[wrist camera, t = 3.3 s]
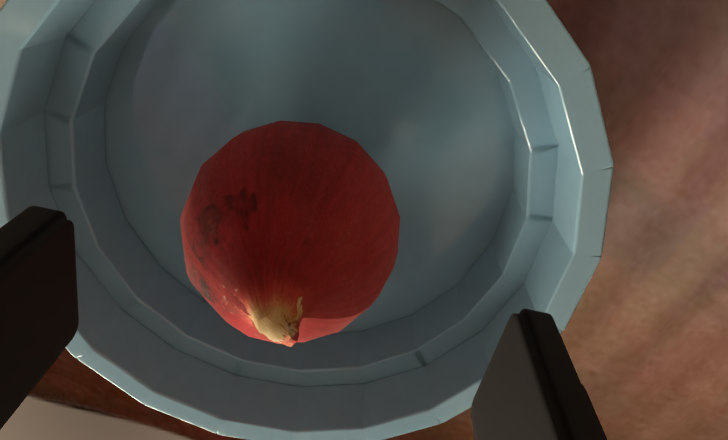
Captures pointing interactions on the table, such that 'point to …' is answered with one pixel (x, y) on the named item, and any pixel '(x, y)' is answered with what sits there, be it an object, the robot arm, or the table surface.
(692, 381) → the table surface
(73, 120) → the pan
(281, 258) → the onion
